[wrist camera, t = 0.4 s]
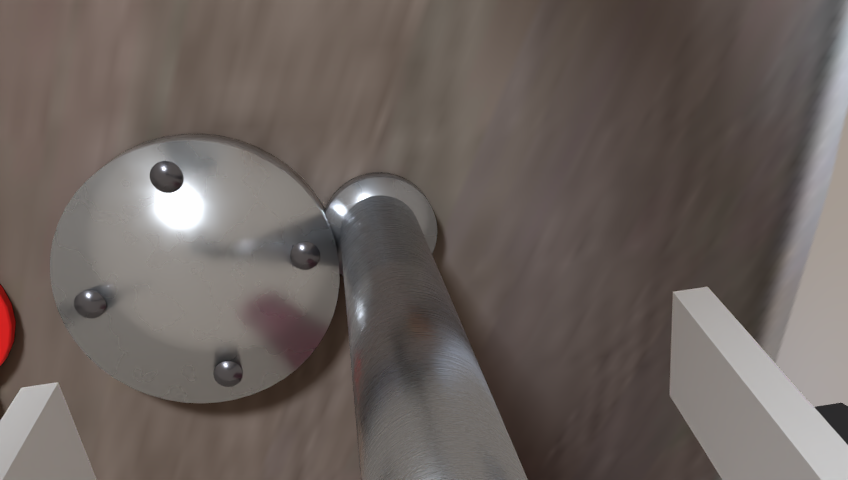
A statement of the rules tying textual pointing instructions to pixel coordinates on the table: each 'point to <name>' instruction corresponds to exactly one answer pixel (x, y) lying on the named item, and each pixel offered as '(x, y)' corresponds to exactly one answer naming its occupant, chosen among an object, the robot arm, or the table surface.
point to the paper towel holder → (276, 297)
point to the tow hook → (6, 325)
